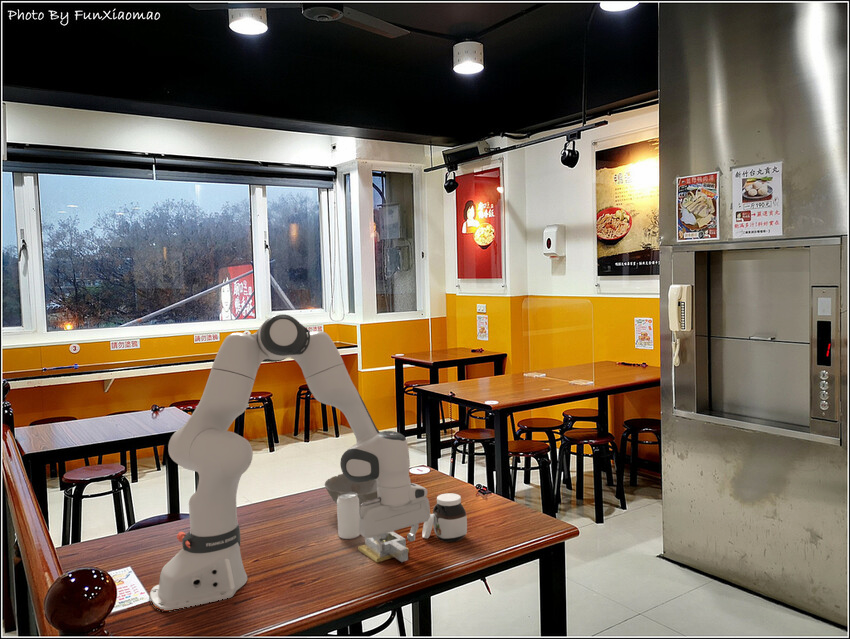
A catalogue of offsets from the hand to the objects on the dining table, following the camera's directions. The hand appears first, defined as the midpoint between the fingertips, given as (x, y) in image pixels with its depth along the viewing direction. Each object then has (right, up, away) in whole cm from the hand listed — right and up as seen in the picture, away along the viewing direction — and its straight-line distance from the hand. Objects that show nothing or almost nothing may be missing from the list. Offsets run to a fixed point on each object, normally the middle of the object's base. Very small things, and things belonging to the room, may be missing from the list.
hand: (396, 545), depth 166 cm
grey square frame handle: (-2, -3, +3) cm, 4 cm away
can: (-15, -4, +18) cm, 23 cm away
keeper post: (-4, -4, +6) cm, 8 cm away
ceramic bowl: (-13, -3, +37) cm, 40 cm away
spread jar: (+13, -3, +14) cm, 19 cm away
